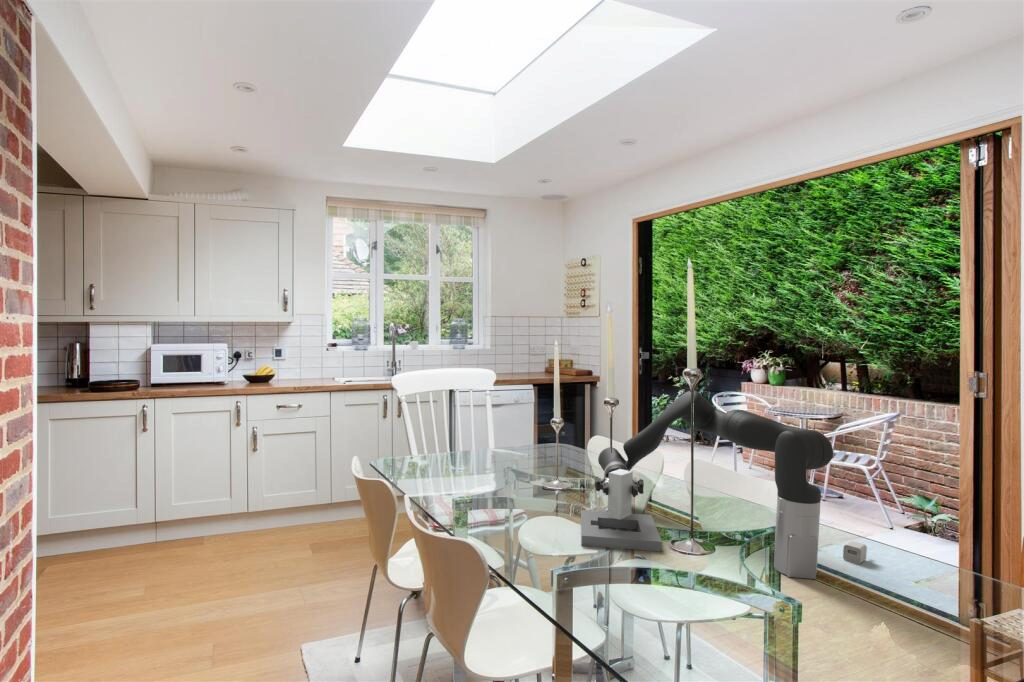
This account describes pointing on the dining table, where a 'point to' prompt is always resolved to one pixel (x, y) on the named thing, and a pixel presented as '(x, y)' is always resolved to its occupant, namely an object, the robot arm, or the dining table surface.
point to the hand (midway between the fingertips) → (620, 492)
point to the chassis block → (619, 539)
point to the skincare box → (620, 494)
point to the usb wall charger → (854, 552)
